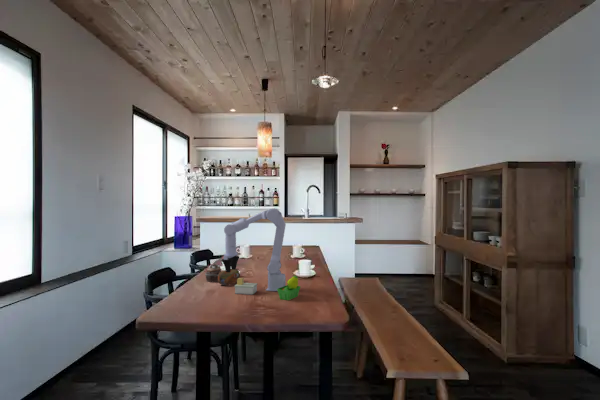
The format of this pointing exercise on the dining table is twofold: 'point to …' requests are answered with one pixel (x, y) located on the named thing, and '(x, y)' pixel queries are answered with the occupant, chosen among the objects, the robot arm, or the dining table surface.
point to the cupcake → (213, 273)
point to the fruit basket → (289, 289)
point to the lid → (244, 284)
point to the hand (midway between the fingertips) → (230, 270)
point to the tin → (228, 277)
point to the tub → (245, 290)
